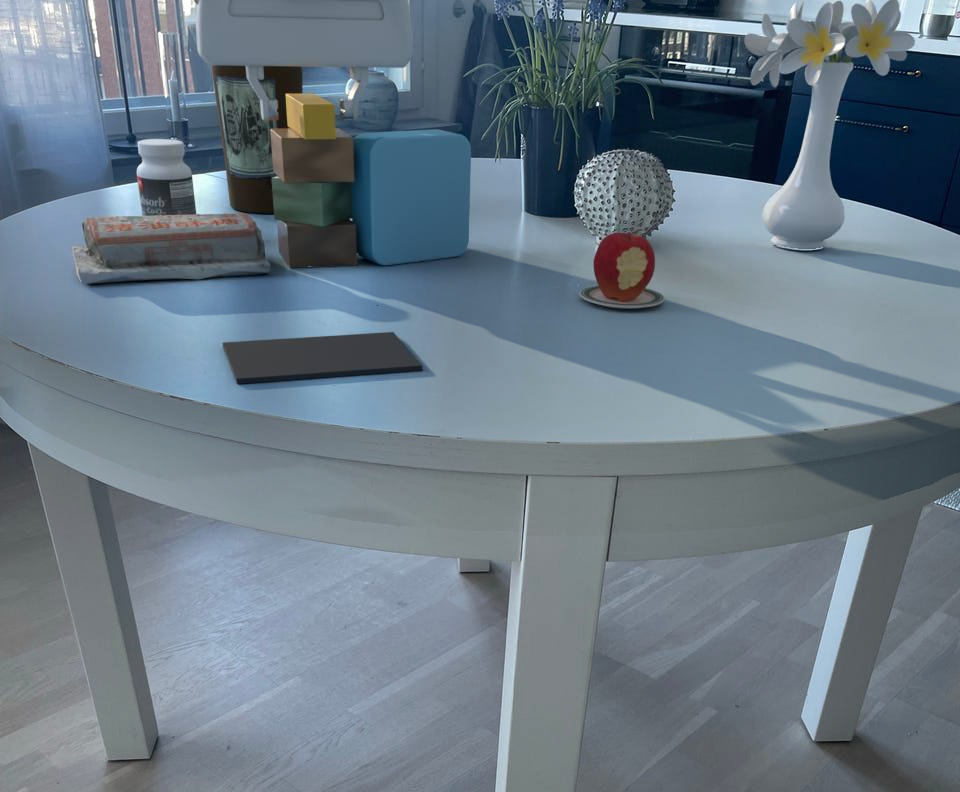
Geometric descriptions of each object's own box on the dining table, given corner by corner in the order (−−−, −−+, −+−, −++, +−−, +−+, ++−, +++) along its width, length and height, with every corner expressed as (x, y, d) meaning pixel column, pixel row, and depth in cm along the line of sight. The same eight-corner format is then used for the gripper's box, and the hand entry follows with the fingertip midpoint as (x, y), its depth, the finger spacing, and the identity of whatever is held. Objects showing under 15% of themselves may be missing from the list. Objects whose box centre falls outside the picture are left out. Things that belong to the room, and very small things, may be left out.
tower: (284, 270, 102) (274, 138, 96) (271, 251, 109) (262, 127, 103) (365, 266, 105) (361, 138, 98) (348, 248, 111) (343, 127, 105)
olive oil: (245, 197, 135) (225, -28, 121) (321, 202, 133) (309, -25, 120) (211, 211, 126) (185, -29, 112) (292, 217, 124) (276, -26, 111)
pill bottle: (134, 241, 111) (120, 141, 106) (175, 233, 115) (163, 136, 110) (170, 249, 108) (157, 147, 103) (210, 241, 112) (199, 142, 107)
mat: (237, 384, 74) (236, 378, 73) (222, 347, 81) (222, 342, 81) (422, 370, 78) (422, 365, 77) (393, 336, 85) (393, 331, 85)
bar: (304, 139, 96) (302, 104, 94) (287, 126, 104) (285, 93, 102) (336, 139, 97) (334, 104, 95) (316, 126, 105) (314, 93, 103)
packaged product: (248, 205, 105) (268, 224, 98) (252, 253, 108) (272, 276, 100) (64, 211, 100) (70, 232, 92) (73, 262, 102) (79, 287, 94)
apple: (680, 303, 97) (690, 230, 93) (628, 317, 92) (637, 242, 88) (614, 286, 101) (621, 216, 98) (562, 299, 96) (567, 226, 93)
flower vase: (745, 226, 129) (783, -6, 116) (887, 250, 120) (946, 0, 106) (694, 241, 121) (729, -8, 107) (842, 268, 111) (901, -2, 98)
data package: (446, 247, 113) (448, 128, 107) (469, 255, 110) (472, 133, 104) (352, 258, 108) (348, 133, 101) (373, 267, 104) (370, 139, 98)
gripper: (186, -57, 87) (205, 123, 94) (417, -46, 93) (417, 123, 100) (180, -55, 92) (198, 115, 99) (399, -45, 98) (401, 115, 105)
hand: (310, 119), depth 100 cm, fingers open, 6 cm apart
